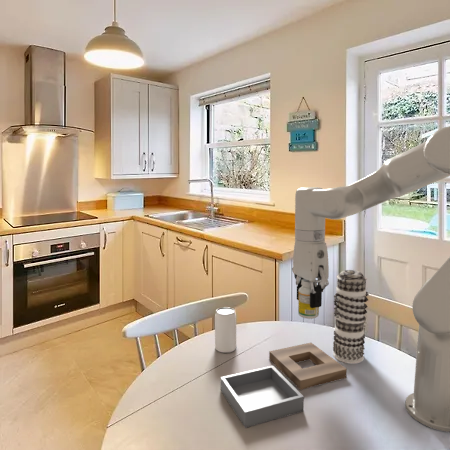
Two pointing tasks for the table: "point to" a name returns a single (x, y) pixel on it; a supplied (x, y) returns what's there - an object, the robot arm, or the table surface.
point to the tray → (261, 395)
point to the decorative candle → (350, 316)
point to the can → (225, 330)
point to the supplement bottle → (306, 301)
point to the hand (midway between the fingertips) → (308, 302)
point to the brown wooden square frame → (308, 376)
